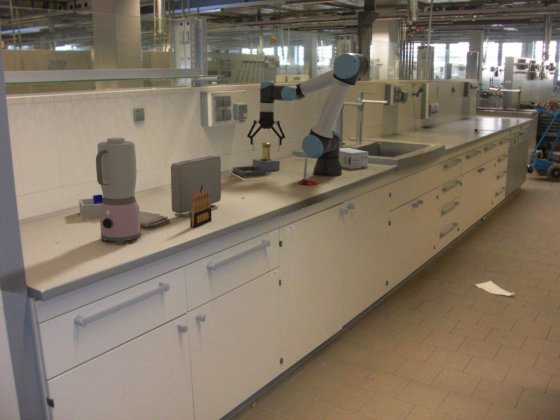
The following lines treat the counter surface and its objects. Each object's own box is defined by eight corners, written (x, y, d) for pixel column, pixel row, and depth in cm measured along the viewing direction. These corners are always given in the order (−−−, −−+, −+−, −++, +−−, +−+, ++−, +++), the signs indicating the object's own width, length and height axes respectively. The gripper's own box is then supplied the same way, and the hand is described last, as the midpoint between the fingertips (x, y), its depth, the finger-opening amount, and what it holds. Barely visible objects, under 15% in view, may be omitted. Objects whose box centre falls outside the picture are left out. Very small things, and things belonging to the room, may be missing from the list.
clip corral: (135, 214, 206) (135, 201, 205) (83, 219, 198) (82, 205, 197) (130, 208, 215) (129, 195, 214) (79, 212, 207) (79, 199, 206)
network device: (185, 220, 200) (183, 165, 195) (166, 216, 204) (164, 162, 199) (225, 206, 222) (225, 156, 217) (207, 203, 226) (207, 154, 221)
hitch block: (279, 172, 297) (279, 160, 296) (260, 173, 293) (260, 161, 291) (271, 168, 307) (271, 157, 306) (252, 169, 303) (252, 158, 301)
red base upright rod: (306, 181, 275) (296, 183, 268) (307, 156, 273) (297, 157, 265) (320, 184, 271) (311, 186, 263) (322, 157, 268) (312, 159, 261)
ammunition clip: (194, 228, 190) (194, 194, 187) (190, 227, 191) (189, 193, 188) (211, 221, 200) (211, 188, 197) (207, 220, 201) (207, 187, 198)
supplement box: (331, 164, 325) (331, 148, 323) (347, 163, 332) (348, 147, 330) (351, 169, 312) (352, 152, 309) (367, 167, 319) (368, 151, 317)
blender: (117, 231, 184) (112, 135, 176) (148, 236, 180) (145, 137, 172) (85, 244, 170) (78, 140, 162) (118, 250, 166) (113, 143, 158)
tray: (265, 176, 283) (266, 171, 282) (244, 178, 278) (244, 172, 277) (253, 171, 297) (254, 166, 296) (232, 172, 292) (232, 167, 291)
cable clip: (121, 214, 204) (121, 199, 203) (110, 217, 201) (110, 200, 200) (104, 209, 212) (103, 193, 211) (93, 211, 209) (92, 195, 207)
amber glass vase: (272, 169, 299) (272, 143, 295) (263, 170, 296) (263, 143, 293) (268, 167, 303) (268, 142, 300) (259, 168, 301) (260, 142, 297)
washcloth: (150, 232, 186) (149, 223, 186) (110, 224, 194) (109, 215, 194) (172, 224, 197) (172, 215, 196) (134, 216, 205) (133, 208, 204)
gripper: (290, 111, 296) (288, 150, 302) (243, 109, 295) (242, 149, 301) (290, 112, 289) (289, 152, 294) (242, 110, 288) (242, 151, 293)
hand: (265, 151), depth 297 cm, fingers open, 13 cm apart
